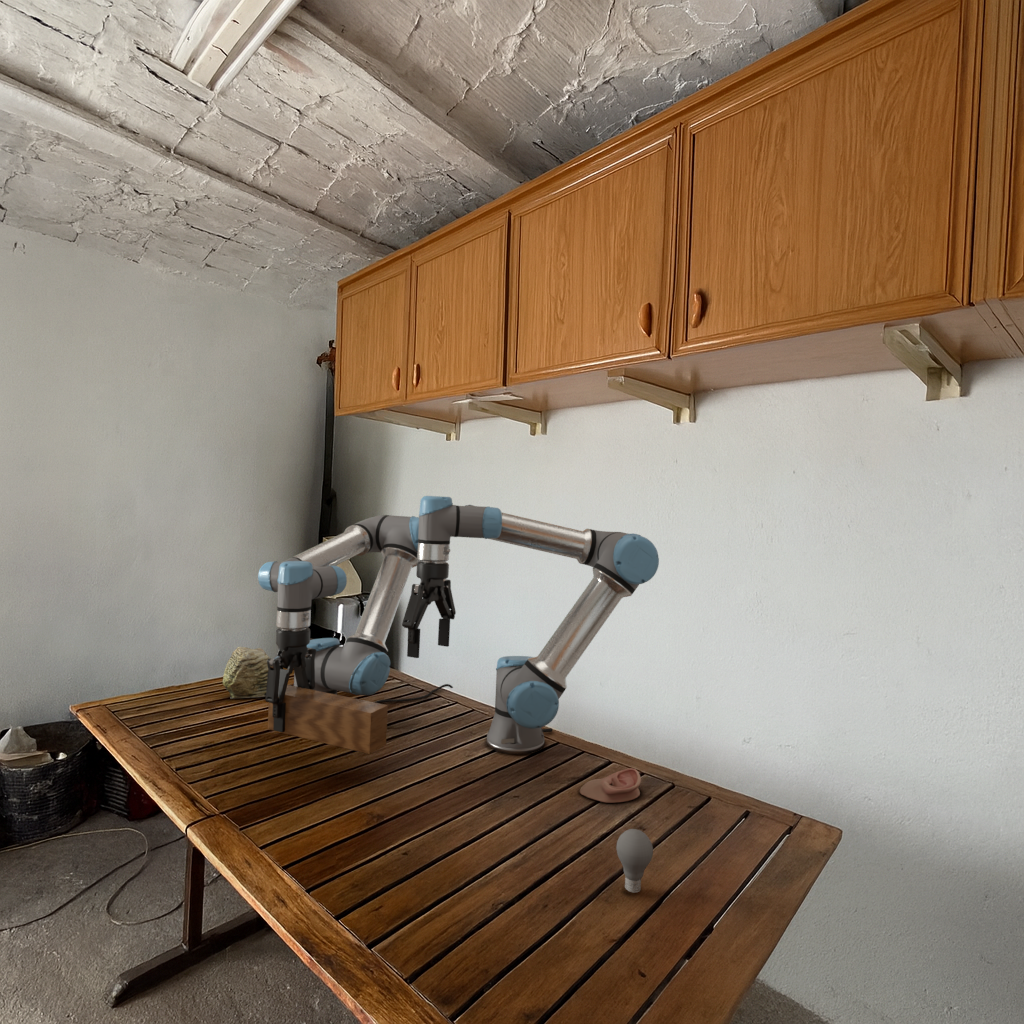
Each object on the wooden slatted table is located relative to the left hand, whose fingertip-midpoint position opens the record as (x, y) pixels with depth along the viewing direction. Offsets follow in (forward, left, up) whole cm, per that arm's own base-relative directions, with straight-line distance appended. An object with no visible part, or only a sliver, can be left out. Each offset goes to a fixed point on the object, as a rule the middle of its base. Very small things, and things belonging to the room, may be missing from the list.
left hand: (289, 725), depth 148 cm
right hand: (-21, +24, +19) cm, 37 cm away
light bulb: (-12, +83, -9) cm, 85 cm away
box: (-3, +10, -1) cm, 11 cm away
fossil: (-21, -53, -9) cm, 58 cm away
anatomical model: (-41, +62, -9) cm, 75 cm away
